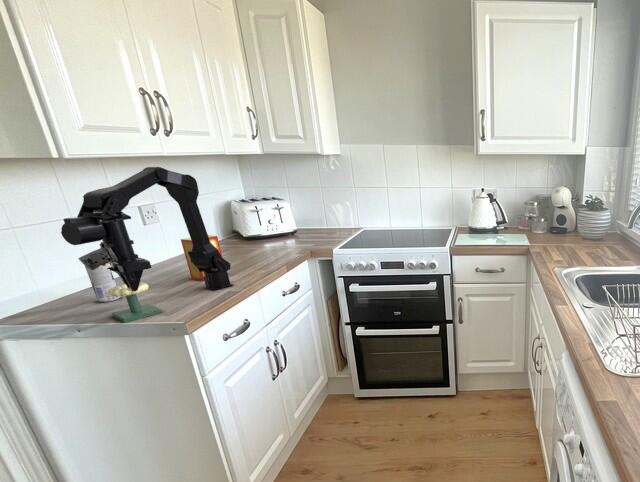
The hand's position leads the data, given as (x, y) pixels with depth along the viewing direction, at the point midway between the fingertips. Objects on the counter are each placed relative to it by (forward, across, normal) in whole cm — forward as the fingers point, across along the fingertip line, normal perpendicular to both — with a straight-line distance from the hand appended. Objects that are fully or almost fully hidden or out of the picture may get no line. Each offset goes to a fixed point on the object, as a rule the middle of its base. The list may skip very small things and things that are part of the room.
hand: (133, 290), depth 121 cm
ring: (0, -4, 0) cm, 4 cm away
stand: (+8, -4, 0) cm, 9 cm away
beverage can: (+8, -28, +1) cm, 30 cm away
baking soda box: (+9, -29, +32) cm, 44 cm away
